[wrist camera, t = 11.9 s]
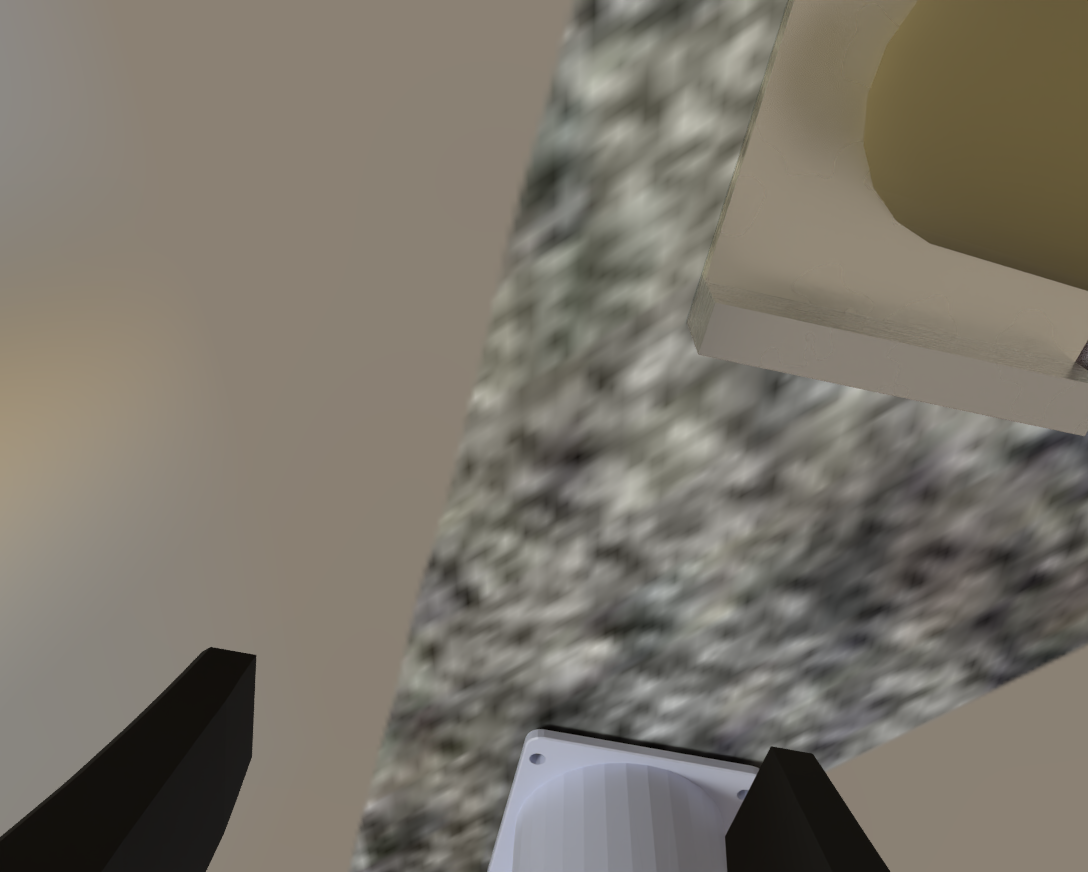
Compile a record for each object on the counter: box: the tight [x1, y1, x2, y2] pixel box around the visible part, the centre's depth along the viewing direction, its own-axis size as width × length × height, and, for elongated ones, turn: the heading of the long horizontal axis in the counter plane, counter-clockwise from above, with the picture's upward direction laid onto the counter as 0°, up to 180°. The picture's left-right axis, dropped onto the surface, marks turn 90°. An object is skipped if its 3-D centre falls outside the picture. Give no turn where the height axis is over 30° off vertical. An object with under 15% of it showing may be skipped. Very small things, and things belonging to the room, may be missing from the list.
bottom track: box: [687, 0, 1088, 436], centre depth 15 cm, size 14×9×2 cm, turn 168°
